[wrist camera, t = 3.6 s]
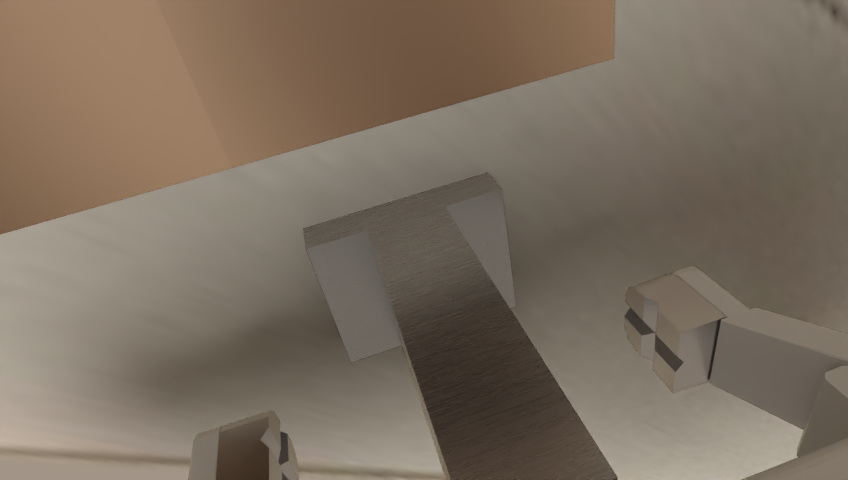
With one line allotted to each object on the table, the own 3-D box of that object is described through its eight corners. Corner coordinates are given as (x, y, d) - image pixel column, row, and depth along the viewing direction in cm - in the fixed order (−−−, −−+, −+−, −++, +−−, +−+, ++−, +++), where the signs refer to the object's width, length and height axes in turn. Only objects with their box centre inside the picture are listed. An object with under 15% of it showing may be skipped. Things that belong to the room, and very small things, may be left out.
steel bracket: (487, 172, 14) (721, 437, 7) (502, 286, 16) (691, 573, 9) (303, 228, 13) (351, 580, 6) (346, 338, 15) (417, 687, 8)
